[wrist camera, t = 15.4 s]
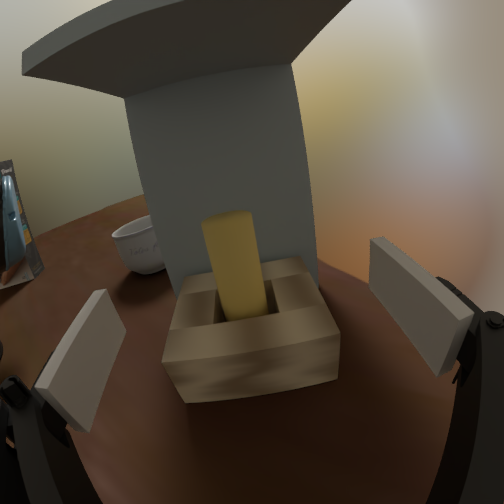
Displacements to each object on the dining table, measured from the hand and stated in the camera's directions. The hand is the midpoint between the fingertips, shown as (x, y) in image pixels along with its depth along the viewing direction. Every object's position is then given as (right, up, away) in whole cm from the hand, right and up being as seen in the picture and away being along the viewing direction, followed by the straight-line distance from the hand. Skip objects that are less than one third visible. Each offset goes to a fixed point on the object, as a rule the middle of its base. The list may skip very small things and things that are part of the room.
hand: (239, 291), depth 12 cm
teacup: (-15, 0, +33) cm, 36 cm away
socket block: (+1, -7, +11) cm, 13 cm away
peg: (+1, -7, +11) cm, 13 cm away
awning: (+1, -7, +11) cm, 13 cm away
